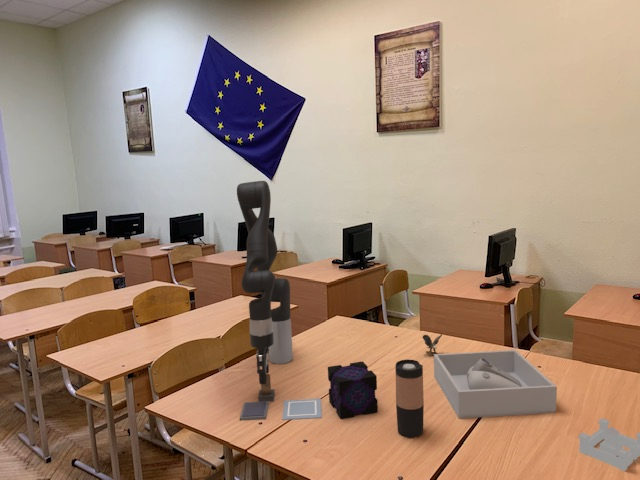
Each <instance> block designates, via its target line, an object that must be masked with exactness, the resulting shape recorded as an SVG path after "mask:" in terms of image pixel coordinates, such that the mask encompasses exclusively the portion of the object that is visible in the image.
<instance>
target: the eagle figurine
mask: <svg viewBox="0 0 640 480" xmlns="http://www.w3.org/2000/svg"><path fill="white" fill-rule="evenodd" d="M442 336H443V334H442V333H441V334H440V335H438V336H437V337H436V338H434V340H432V339H431V336H429V335H428V334H423V336H422V339H423V341H424V344H425V345H426V348H427V349H429V350H428V351H427V350H425V353H426V354H423V357H424V356H429V355H434V354H439V353H438V352H437V351H436V349H437V350H438V347H437V346H436V345H438V343H439V340H440V339H441V338H442ZM432 349H433V351H432Z"/></svg>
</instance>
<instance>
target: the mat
mask: <svg viewBox="0 0 640 480" xmlns="http://www.w3.org/2000/svg"><path fill="white" fill-rule="evenodd" d="M282 408H283V409H282V418H281V419H282V420H283V421H285V420H286V421H290V420H309V419H311V420H312V419H313V420H314V419H322V418H323V417H322V414H323V413H322V399H321V398H307V399H306V398H304V399H302V398H301V399H288V400H283V407H282Z"/></svg>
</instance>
